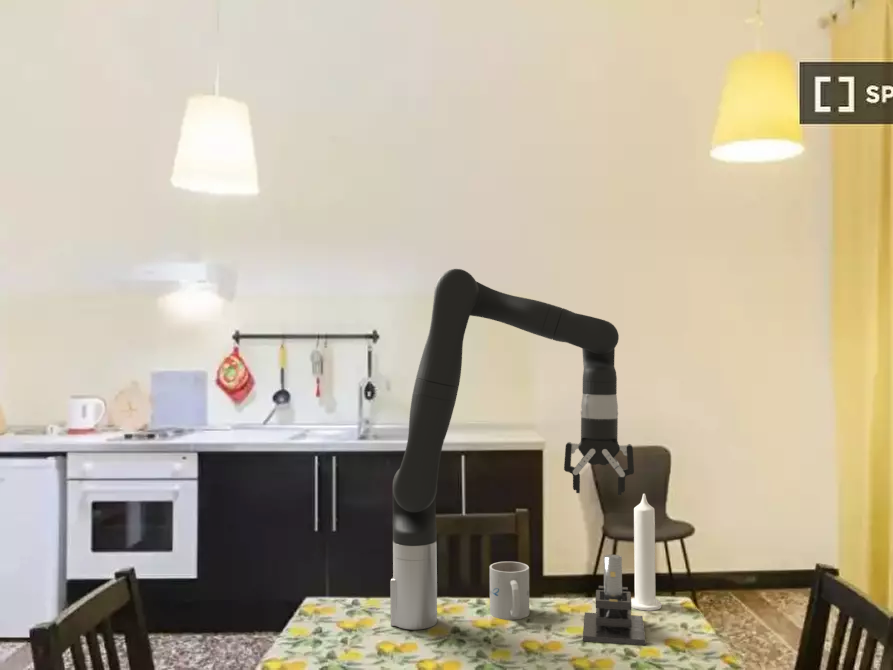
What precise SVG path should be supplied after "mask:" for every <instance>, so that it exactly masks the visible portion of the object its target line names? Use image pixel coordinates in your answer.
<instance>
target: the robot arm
mask: <svg viewBox="0 0 893 670" xmlns="http://www.w3.org/2000/svg"><path fill="white" fill-rule="evenodd" d="M434 285H435V286H434V291H433V294H434V295H433V301H432V311H431V312H432V313H431V319H430V327H429V332H428V336H427V338H426V342H425V344H424V345H425V346H424V349H423V350H422V355H421V357H420V362H419V364H418V370H417V373H416V377H415V381H414V386H413V390H412V395H411V401H410V402H411V403H410V411H409V418H408V419H409V423H408V436H407V442H406V447H405V451H404V454H403V457H402V461H401V464H400V467H399V469H398V470H396V473H395V474H394V477H393V479H392V563H393V564H392V572H393V573H392V575H393V576H392V578H391V579H390V582H389V583H390V584H389V585H390V586H389V587H390V595H389V596H390V598H389V599H390V626H392V627H393V626H395V627H398V628H400V629H404V630H423V629H424V630H425V629H428V628H429V629H430V628H431V627H434V626H435V625H436V624H437V622H438V583H437V582H438V574H437V573H438V572H437V571H438V570H437V563H438V561H437V559H438V558H437V554H438V553H437V550H438V549H437V548H438V547H437V538H438V537H437V529H438V528H437V513H436V511H437V510H436V509H437V508H436V506H437V504H436V497H437V493H438V481H439V480H438V478H439V468H440V461H441V455H442V450H443V446H444V442H445V439H446V436H447V433H448V430H449V427H450V423H451V420H452V417H453V413H454V409H455V406H456V405H455V404H456V400H457V397H458V396H457V395H458V391H459V387H460V381H461V376H462V375H461V374H462V364H463V346H464V345H463V344H464V338H465V333H466V329H467V327H468V323H469V319H470V317H471V316H472V317H478V318H483V319H488V320H492V321H495V322H500V323H502V324H505V325H508V326H510V327H514V328H516V329H519V330H522V331H524V332H528V333H531V334H533V335H537V336H540V337H543V338H546V339H549V340H552V341H556V342H561V343H567V344H570V345H572V346H575V347H578V348H581V349H582V363H583V364H582V365H583V371H582V396H581V397H582V398H581V404H580V442H579V443H576V442H575V443H573V442H570V441H567V442H566V444H565V451H564V465H563V470H564V471H565V472H567V473H570V474H571V475H572V489H573V491H575V494H580V492H581V474H580V473H581V471H582V470H583V469H584V467H585V466H586V465H587V464H590V465H593V466H595V465H602V466H607V465H609V464H610V466H611V467H612V468H613V469H614V471H615V472H616V473H617V496H622V493H624V492H625V490H626V477H627V476H630V475H633V474H634V472H635V465H634V448H633V445H632V444H630V443H628V444H626V445H623V444H622V445H621V444H620V445H619V441H618V434H619V433H618V430H619V429H618V427H619V426H618V423H619V422H618V420H619V419H618V417H619V412H618V411H619V410H618V409H619V406H618V397H617V396H618V395H617V389H618V388H617V385H618V384H617V380H618V379H617V371H616V367H615V356H616V355H615V351H616V350H615V349H616V346H618V343H619V337H620V336H619V331H618V329H617V328H616V326H615V325H614V324H613V323H612V322H609V321H608V320H605V319H602V318H597V317H595V316H589V315H585V314H581V313H576V312H574V311H572V310H569V309H566V308H562V307H560V306H557V305H554V304H551V303H547V302H544V301H541V300H535V299H531V298H526V297H522V296H521V297H520V296H516V295H512V294H507V293H505V292H501V291H498V290H496V289H493V288H491V287H489V286H486V285H484V284H483V283H480V282H479V281H476V279H475V278H474V277H473V275H472V274H471V273H469V272H468V271H466V270H465V269H461V268H453V269H449V270H446V271H445V272H443V273H442V274H441V275H440V276H439V277H438V279H437V280H436V283H435V284H434ZM577 450H579V452H580V454H581V455H582V458H581V459H580V460H579V462H578V463H577V464H576V466H573V465H572V455H573V454H575V453H576V451H577ZM620 451H621V452H622V454H623V456H626V458H627V459H626V461H627V462H626V463H627V468H623V467H622V466H621V464H620V462H619V461H618V459H616V456H617V455H618V454H619V452H620Z"/></svg>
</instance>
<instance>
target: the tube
mask: <svg viewBox="0 0 893 670" xmlns="http://www.w3.org/2000/svg"><path fill="white" fill-rule="evenodd" d="M622 561H623V559H622V556H621V555H619V554H606V555H603V586H604V600H609V599H617V600H618V601H622V587H623V572H622V571H623V566H622V565H623V562H622ZM604 617H610V618H622V609H605V608H604ZM605 627H607V628H612V629H618V628H621V627H612V626H605Z"/></svg>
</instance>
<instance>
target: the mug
mask: <svg viewBox="0 0 893 670" xmlns="http://www.w3.org/2000/svg"><path fill="white" fill-rule="evenodd" d="M489 614H490V616H492V617H494V618H497V619H499V620H510V621H511V620H521V619H524V618H527V617H529V616H530V567H529V565H528V564H526V563H524V562H519V561H498V562H494V563H492V564H490V565H489Z"/></svg>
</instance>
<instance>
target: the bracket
mask: <svg viewBox="0 0 893 670" xmlns="http://www.w3.org/2000/svg"><path fill="white" fill-rule="evenodd" d="M628 588H629V587H628V586H622V601H618V600H617V599H609V600H604V585H598V589H596V590H595V612H584V619H583V629H582V641H583V642H592V643H593V642H594V643H608V644H621V645H635V646H636V645H638V646H646V635H645V628H644V627H645V626H644V619H643V617H644V616H643V615H634V614H633V615H632V607H631V599H632V597H631V596H632V594H631V593H632V592H631V591H629V589H628ZM604 608H605V609H622V618H610V617H604ZM605 626H612V627H621V628H618V629H612V628H607V627H605Z"/></svg>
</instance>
